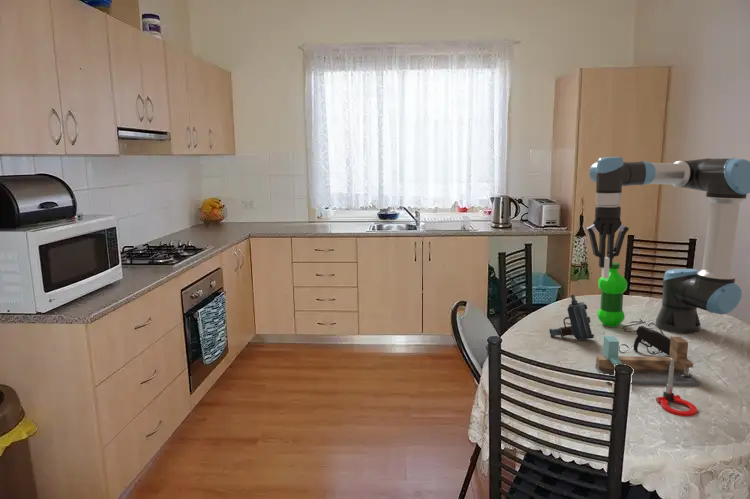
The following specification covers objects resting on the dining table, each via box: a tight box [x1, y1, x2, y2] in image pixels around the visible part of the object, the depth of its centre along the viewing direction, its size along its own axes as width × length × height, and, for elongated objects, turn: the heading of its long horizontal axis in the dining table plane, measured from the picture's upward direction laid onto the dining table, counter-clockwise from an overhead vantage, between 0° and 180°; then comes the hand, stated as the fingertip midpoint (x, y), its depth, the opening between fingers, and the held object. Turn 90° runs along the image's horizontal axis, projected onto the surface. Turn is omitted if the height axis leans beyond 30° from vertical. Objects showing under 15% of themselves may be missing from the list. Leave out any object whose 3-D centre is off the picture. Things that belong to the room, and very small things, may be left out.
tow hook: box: [655, 358, 698, 417], centre depth 141 cm, size 8×13×9 cm
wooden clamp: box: [595, 336, 694, 376], centre depth 163 cm, size 26×10×9 cm, turn 83°
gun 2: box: [633, 325, 671, 357], centre depth 178 cm, size 3×16×10 cm, turn 59°
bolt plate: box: [595, 364, 700, 387], centre depth 162 cm, size 26×12×1 cm, turn 83°
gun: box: [548, 294, 595, 341], centre depth 195 cm, size 3×17×15 cm
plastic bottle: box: [597, 261, 628, 328], centre depth 207 cm, size 10×10×25 cm
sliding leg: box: [602, 335, 622, 365], centre depth 164 cm, size 3×10×9 cm, turn 173°
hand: (605, 277), depth 173 cm, fingers closed
